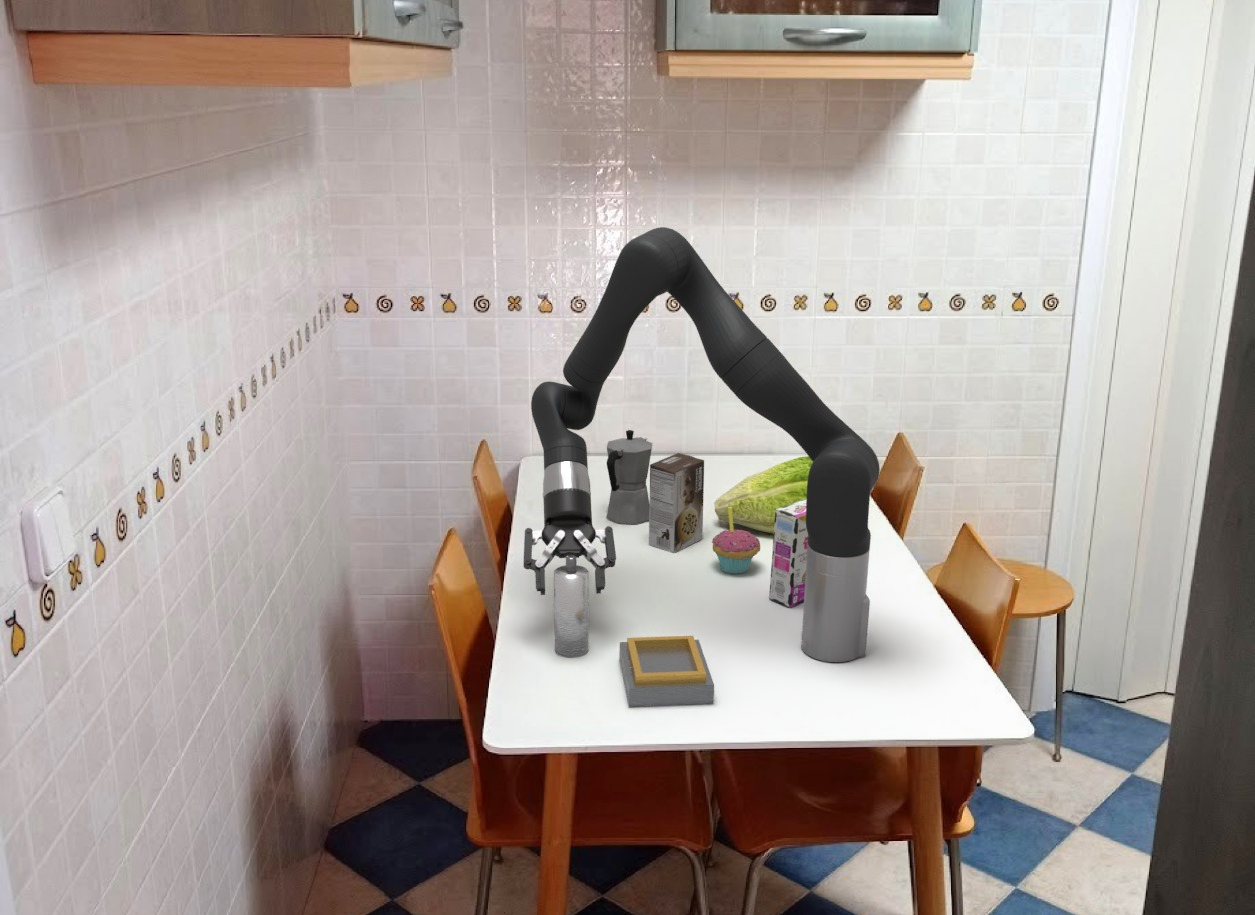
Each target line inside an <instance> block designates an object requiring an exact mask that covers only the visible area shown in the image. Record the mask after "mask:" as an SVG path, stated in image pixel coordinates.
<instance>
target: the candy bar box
mask: <svg viewBox="0 0 1255 915" xmlns="http://www.w3.org/2000/svg"><path fill="white" fill-rule="evenodd" d="M807 547H808V532H807V529H806V499H804V500H801V501H799V502H796V503H793V504H790V505H787V506H785V507H782V508H779V509H776V510H775V523H774V534H773V542H772V556H771V568H770V579H769V580H770V581H769V582H770V584H769V596H768V599H769V600H770V601H773V602H775V603H778V604H779V605H782V606H784V607H787V608H793V607H795V606H797V605H799V604H801V603H804V594H805V578H806V563H807Z"/></svg>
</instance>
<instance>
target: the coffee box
mask: <svg viewBox="0 0 1255 915" xmlns="http://www.w3.org/2000/svg"><path fill="white" fill-rule="evenodd" d="M649 470H650V471H649V505H650V506H649V520H648V545H649V546H651V547H654V548H657V549H660V550H664V551H666V552H669V553H672V554H676V553H677V552H680V551H681V550H684V549H686V548H687V547H689V546H691V545H693V544H695V543H697V542H699V541H701V540H703V530H704V529H703V528H704V524H703V523H704V493H705V492H704V487H705V486H704V485H705V483H704V482H705V459H701V458H698V457H695V456H692V455H688V454H684V453H681V452H678V453H674V454H673V455H670V456H668V457H665V458H662V459H659V460H658V461H656V462H653V463H651V464H650V463H649Z"/></svg>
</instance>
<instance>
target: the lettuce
mask: <svg viewBox="0 0 1255 915" xmlns="http://www.w3.org/2000/svg"><path fill="white" fill-rule="evenodd" d="M812 463H813V461H812V460H811V459H810V457H809V456H808V455H807V456H806V455H805V456H800V457H796V458H793V459H789V460H787V461H784V462H781V463H777V464H776V465H774V466H772V467H769V468H767V469H765V470H762V471H760V472H758V473H757V472H756V473H755V474H752V475H749V476H747V477H745V478H744V479H743V480H741V481H739V483H737V484H735V485H734V486H733V487H731V488H730V489H728V491H726V492H725V493H723V494H721V495H720V496H719V497H718V498H716V500H715V501H714V502H713V504H714V512H715V514H716V516H717V518H718V520H719V521H722V522H726V523H729V514H728V507H729V504H728V503H730V507H732V517H733V524H737V525H740V526H743V527H744V528H745V527H746V528H748V529H752V530H755V531H759V532H762V533H768V534H773V535H774V523H775V510H776V509H779V508H782V507H785V506H787V505H790V504H793V503H796V502H799V501H801V500H804V499H807V482H808V475H809V470H810V467H811V465H812Z"/></svg>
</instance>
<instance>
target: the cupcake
mask: <svg viewBox="0 0 1255 915" xmlns="http://www.w3.org/2000/svg"><path fill="white" fill-rule="evenodd" d="M728 504H729V507H728V514H729V522H728V523H729V524H728V525H729V529H725V530H723V531H719V533H718V534H716V535H715V536H714V537H713V538H712V539H711V543H712V552H714V553H715V554H716V556H717V558H718V562H719V564H720V568H721V570H722V571H723V572H725V573H729V574H733V575H735V574H737V575H738V574H742V573H746V572H747V571H748V570H749V567H750V564H751V562H752V560H753V558H754V556H756V555H757V554H758V553H759V552H760V551H761V542H760V540H759V538H758V537H756V536H755V535H754V534H753V533H751V532H749V531H748V530H747V531H746V530H745V529H736V528H735V529H734V523H733V517H732V507H730V503H728Z"/></svg>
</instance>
